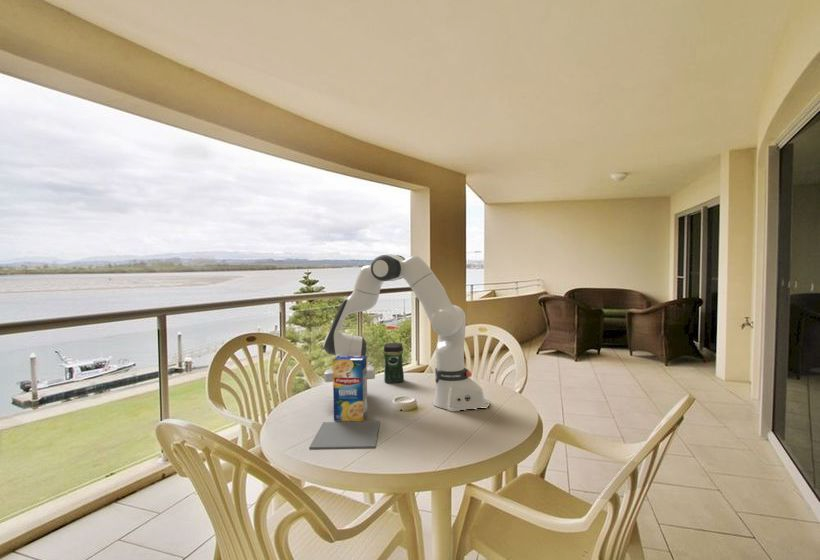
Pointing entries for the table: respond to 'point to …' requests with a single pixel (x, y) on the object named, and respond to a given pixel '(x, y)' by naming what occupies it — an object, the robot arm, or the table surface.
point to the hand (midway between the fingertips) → (350, 379)
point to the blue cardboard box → (350, 388)
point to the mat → (346, 435)
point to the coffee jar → (393, 363)
